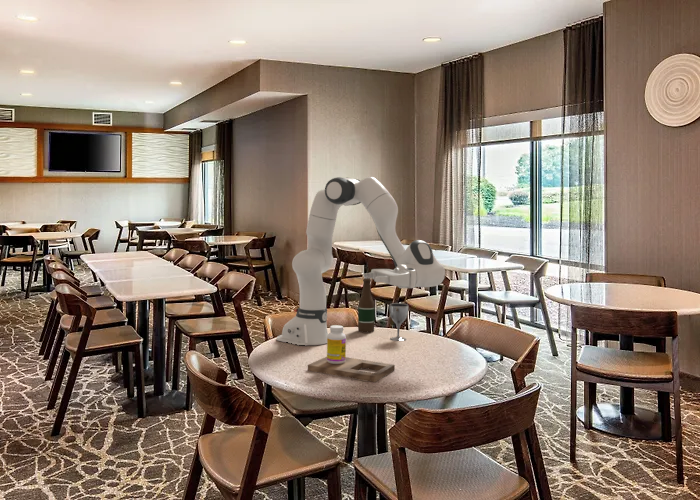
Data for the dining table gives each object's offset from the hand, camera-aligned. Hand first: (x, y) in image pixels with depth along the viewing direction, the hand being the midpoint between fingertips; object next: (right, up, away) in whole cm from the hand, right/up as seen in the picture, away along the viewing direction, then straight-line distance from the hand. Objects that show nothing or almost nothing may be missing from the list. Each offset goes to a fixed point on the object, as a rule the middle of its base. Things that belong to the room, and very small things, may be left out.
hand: (369, 277), depth 217 cm
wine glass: (+14, -29, +44) cm, 54 cm away
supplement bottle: (-12, -30, -1) cm, 32 cm away
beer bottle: (0, -27, +59) cm, 65 cm away
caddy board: (-7, -32, -4) cm, 33 cm away
